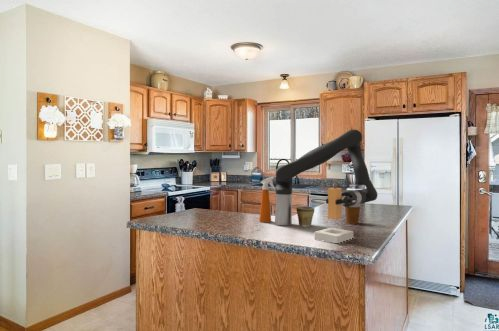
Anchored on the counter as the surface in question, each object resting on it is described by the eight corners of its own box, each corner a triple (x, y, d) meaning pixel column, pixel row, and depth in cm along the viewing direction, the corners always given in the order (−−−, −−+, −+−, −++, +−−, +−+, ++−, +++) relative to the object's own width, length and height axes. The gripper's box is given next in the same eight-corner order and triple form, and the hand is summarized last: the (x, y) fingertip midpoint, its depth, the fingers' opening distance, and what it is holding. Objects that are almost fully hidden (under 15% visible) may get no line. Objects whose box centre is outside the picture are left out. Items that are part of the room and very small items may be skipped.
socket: (337, 244, 153) (337, 236, 153) (314, 239, 162) (314, 231, 162) (353, 238, 163) (353, 231, 163) (331, 234, 172) (331, 227, 172)
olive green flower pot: (314, 228, 186) (314, 209, 186) (295, 227, 188) (295, 208, 188) (314, 223, 199) (314, 205, 199) (297, 222, 201) (297, 205, 201)
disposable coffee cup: (353, 225, 194) (354, 204, 193) (340, 222, 201) (340, 202, 201) (364, 223, 199) (364, 202, 199) (350, 220, 207) (351, 200, 206)
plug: (336, 219, 159) (336, 184, 159) (327, 218, 162) (328, 184, 162) (341, 218, 162) (341, 184, 162) (333, 216, 165) (333, 183, 165)
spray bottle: (272, 223, 197) (273, 177, 196) (256, 221, 203) (257, 176, 202) (278, 221, 203) (279, 176, 202) (263, 219, 209) (263, 176, 208)
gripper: (338, 189, 177) (318, 192, 165) (364, 191, 167) (345, 195, 155) (337, 204, 177) (318, 208, 165) (364, 207, 167) (345, 211, 155)
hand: (331, 201), depth 160 cm, fingers closed on plug, 4 cm apart
